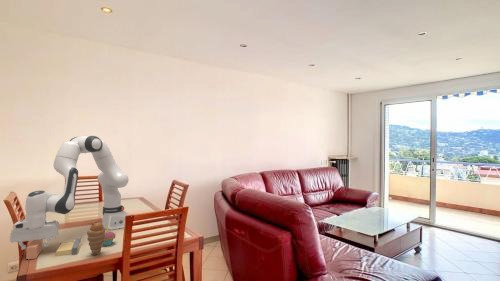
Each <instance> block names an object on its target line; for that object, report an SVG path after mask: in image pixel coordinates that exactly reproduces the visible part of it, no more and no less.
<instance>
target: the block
mask: <svg viewBox="0 0 500 281" xmlns="http://www.w3.org/2000/svg"><path fill="white" fill-rule="evenodd" d="M43 240H44V239H41V240H31V242H30V243H29V245H28V246H26V253H25V254H26V257H25V259H28V260H33V259H34V260H35V259H37V258H38V257H39V255H40V254H41V252H42V251H43V246H44V243H43Z"/></svg>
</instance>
